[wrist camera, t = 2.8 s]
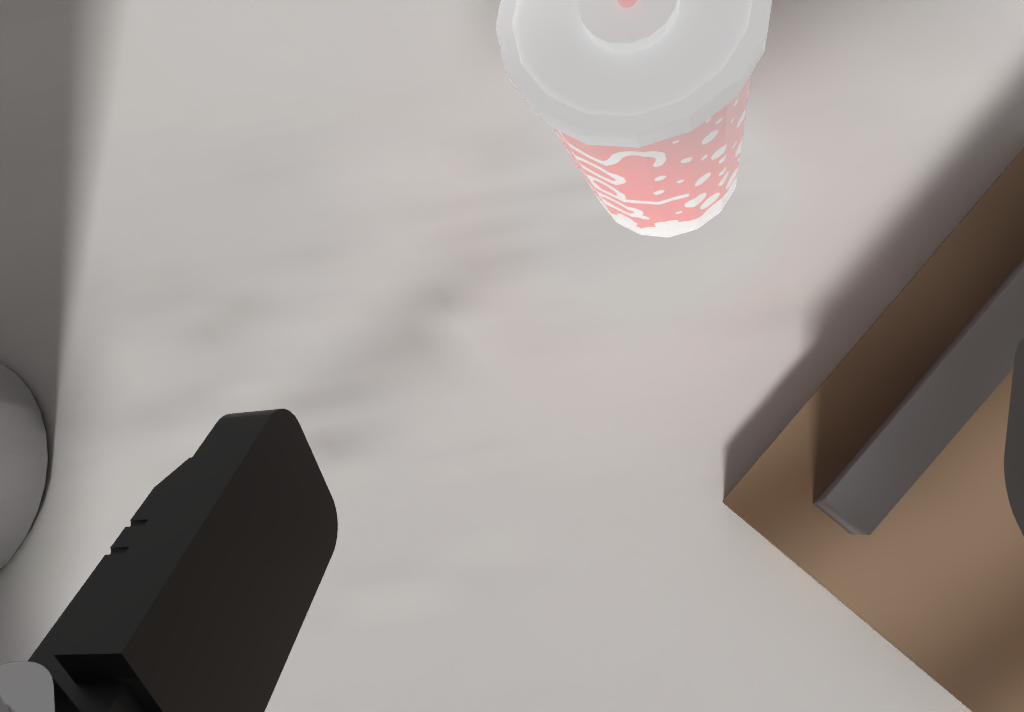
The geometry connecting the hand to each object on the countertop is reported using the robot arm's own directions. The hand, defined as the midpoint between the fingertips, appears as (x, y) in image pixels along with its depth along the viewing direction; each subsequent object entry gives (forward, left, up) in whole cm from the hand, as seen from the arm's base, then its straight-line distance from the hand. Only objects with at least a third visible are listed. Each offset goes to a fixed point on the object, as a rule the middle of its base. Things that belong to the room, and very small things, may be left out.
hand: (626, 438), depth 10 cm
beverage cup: (-7, +7, -16) cm, 19 cm away
